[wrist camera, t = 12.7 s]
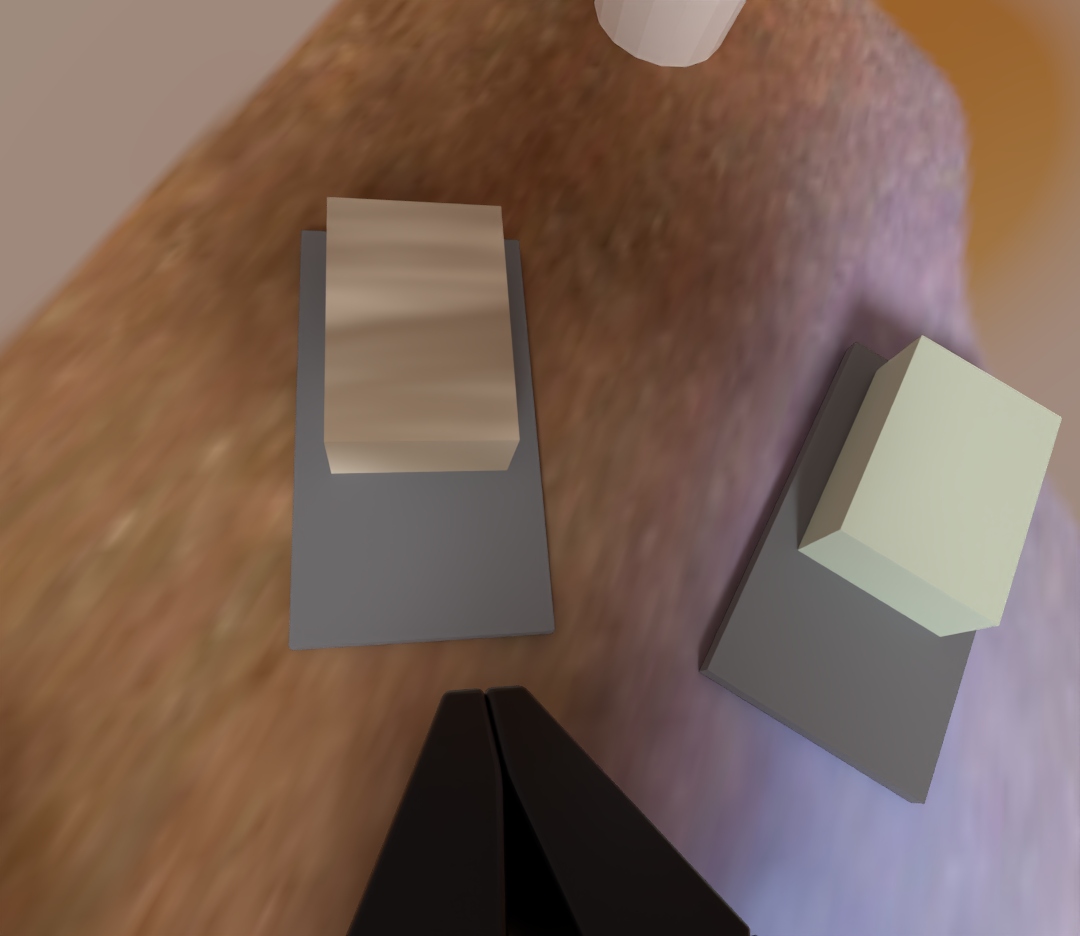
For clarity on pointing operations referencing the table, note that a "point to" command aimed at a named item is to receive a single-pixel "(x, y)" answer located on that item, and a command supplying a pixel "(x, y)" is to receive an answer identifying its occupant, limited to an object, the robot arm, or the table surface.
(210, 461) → the table surface
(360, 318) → the cream tile
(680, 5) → the white cup
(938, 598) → the sage tile
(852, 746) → the pair of gray tiles
